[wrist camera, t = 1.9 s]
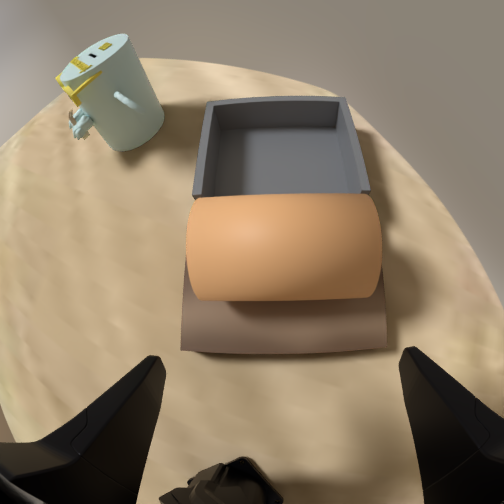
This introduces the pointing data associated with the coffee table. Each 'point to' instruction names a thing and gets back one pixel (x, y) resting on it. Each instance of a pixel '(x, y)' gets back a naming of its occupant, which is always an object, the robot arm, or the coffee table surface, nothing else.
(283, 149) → the tray
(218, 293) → the roller
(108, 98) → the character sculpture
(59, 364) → the coffee table surface
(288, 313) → the board
